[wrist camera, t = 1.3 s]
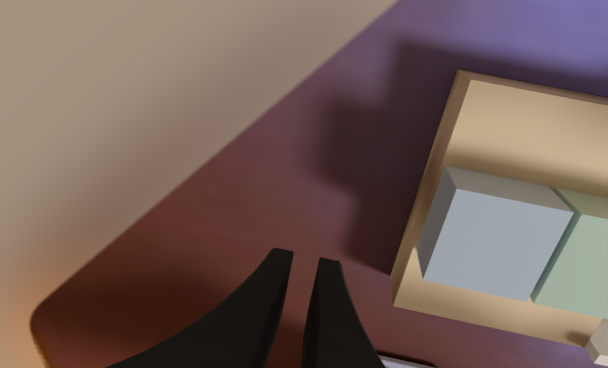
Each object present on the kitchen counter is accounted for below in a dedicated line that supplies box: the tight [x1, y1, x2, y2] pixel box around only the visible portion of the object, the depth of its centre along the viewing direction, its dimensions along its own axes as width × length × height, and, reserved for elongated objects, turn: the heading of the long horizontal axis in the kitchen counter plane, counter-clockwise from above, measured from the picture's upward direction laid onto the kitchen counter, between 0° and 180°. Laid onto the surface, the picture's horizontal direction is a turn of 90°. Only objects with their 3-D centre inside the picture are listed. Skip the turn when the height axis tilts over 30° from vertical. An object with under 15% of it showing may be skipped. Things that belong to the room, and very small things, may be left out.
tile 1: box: [530, 187, 608, 319], centre depth 17 cm, size 4×4×2 cm
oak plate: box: [390, 69, 608, 347], centre depth 20 cm, size 12×10×2 cm
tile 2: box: [416, 165, 574, 302], centre depth 18 cm, size 4×4×2 cm
